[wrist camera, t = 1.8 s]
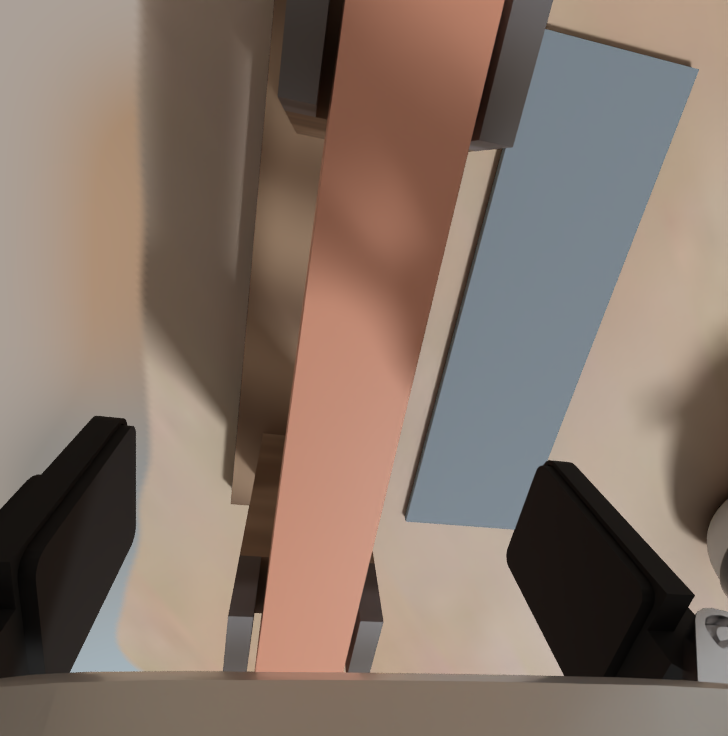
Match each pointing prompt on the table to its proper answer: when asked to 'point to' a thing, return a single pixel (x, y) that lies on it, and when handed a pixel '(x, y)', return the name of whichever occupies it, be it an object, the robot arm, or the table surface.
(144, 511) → the table surface
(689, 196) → the table surface
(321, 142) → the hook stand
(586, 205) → the mat
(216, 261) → the table surface
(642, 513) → the table surface
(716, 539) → the pump dispenser
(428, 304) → the rail
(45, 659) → the robot arm
